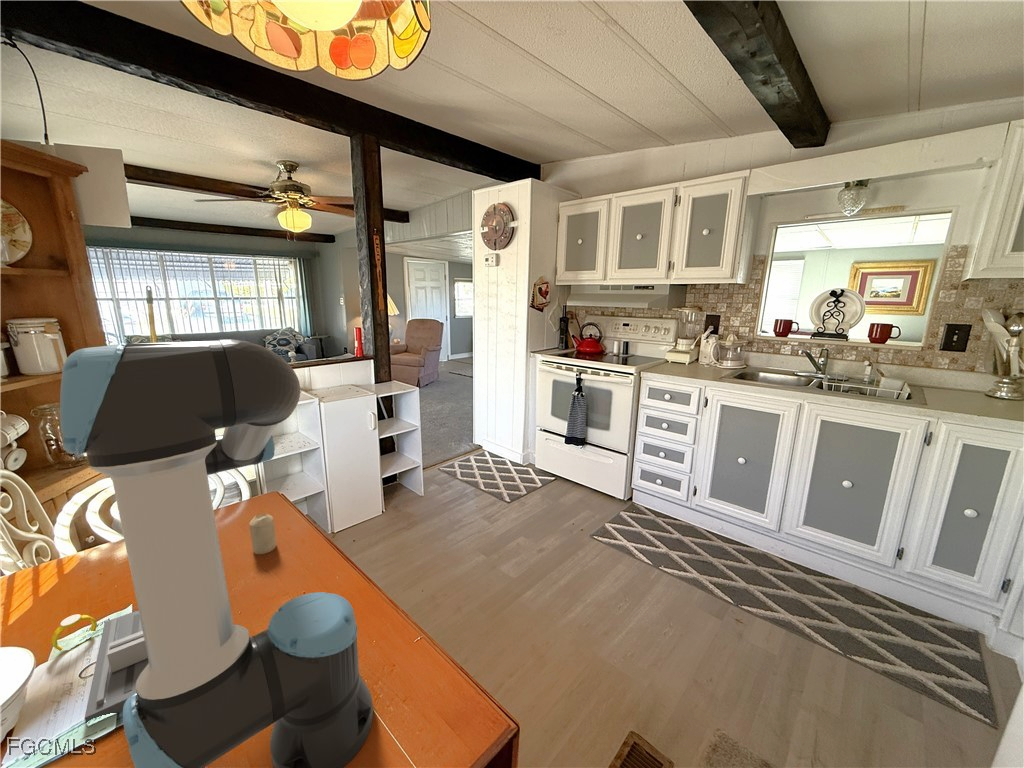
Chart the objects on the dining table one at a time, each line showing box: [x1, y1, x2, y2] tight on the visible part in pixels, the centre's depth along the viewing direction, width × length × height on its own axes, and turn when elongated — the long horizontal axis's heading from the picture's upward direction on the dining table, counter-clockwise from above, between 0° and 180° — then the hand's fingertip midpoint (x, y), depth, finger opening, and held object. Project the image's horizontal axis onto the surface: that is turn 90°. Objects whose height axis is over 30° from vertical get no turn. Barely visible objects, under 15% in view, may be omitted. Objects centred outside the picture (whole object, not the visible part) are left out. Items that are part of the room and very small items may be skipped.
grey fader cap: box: [107, 631, 148, 673], centre depth 73 cm, size 3×5×4 cm, turn 130°
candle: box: [248, 512, 277, 555], centre depth 108 cm, size 6×6×10 cm
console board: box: [84, 609, 149, 724], centre depth 78 cm, size 24×18×3 cm
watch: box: [50, 613, 98, 652], centre depth 78 cm, size 6×3×6 cm, turn 156°
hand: (184, 585), depth 90 cm, fingers closed
